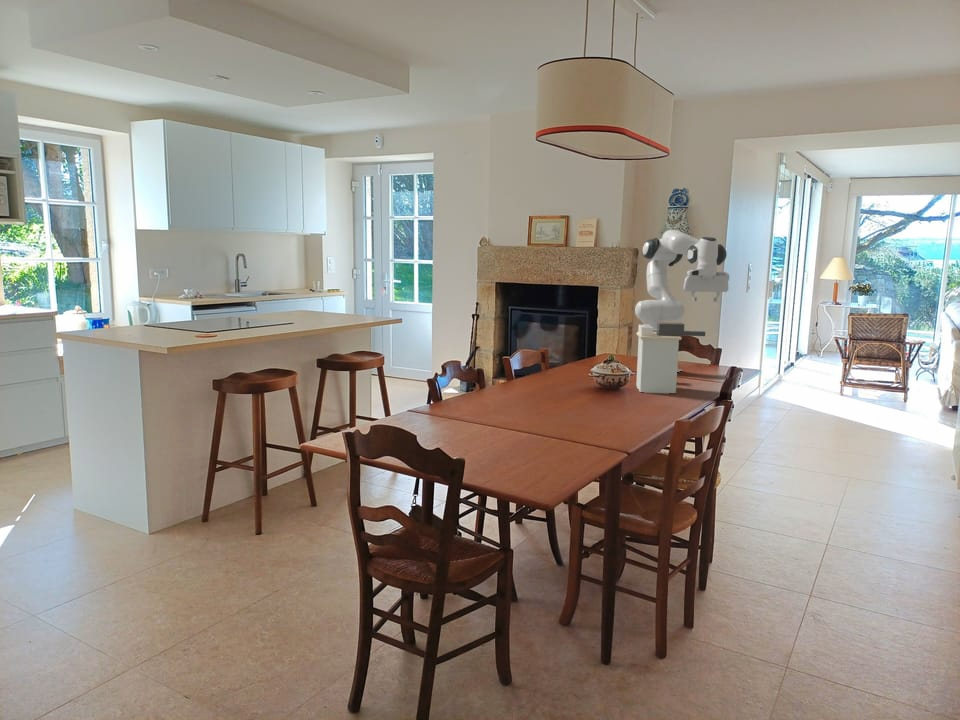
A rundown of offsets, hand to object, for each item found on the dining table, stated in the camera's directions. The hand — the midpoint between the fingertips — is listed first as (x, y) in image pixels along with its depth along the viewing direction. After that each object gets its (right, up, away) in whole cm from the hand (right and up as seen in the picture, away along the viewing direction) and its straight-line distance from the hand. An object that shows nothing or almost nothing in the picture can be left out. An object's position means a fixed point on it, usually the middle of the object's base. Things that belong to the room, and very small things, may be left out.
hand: (704, 301), depth 323 cm
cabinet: (-24, -42, -3) cm, 48 cm away
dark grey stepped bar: (-15, -16, -8) cm, 24 cm away
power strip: (-30, -16, -6) cm, 35 cm away
